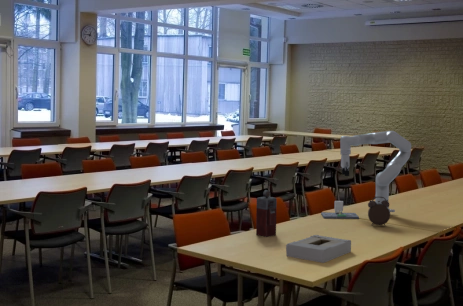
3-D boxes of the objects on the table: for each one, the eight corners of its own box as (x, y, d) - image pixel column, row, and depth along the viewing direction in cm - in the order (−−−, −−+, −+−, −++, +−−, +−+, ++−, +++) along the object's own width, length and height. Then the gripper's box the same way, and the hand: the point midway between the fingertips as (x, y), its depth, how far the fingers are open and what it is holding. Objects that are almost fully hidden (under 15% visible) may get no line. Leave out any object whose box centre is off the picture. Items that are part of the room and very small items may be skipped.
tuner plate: (354, 214, 457) (355, 211, 457) (358, 218, 441) (358, 215, 441) (321, 214, 458) (321, 210, 458) (323, 218, 442) (323, 214, 442)
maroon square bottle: (269, 237, 377) (269, 192, 375) (255, 234, 385) (256, 190, 383) (278, 235, 383) (279, 190, 381) (265, 232, 391) (266, 188, 389)
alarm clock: (388, 225, 419) (389, 196, 418) (390, 227, 412) (391, 197, 410) (366, 224, 421) (367, 195, 419) (368, 226, 413) (368, 197, 412)
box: (314, 246, 357) (285, 256, 331) (315, 233, 356) (285, 242, 331) (351, 253, 343) (324, 264, 318) (351, 239, 343) (324, 249, 317)
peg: (334, 212, 457) (334, 200, 456) (342, 212, 457) (342, 200, 456) (336, 215, 444) (336, 203, 443) (344, 215, 444) (345, 203, 443)
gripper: (338, 151, 470) (338, 174, 471) (342, 153, 453) (342, 176, 454) (348, 151, 470) (348, 173, 471) (353, 153, 453) (353, 176, 454)
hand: (345, 175), depth 463 cm, fingers open, 9 cm apart
